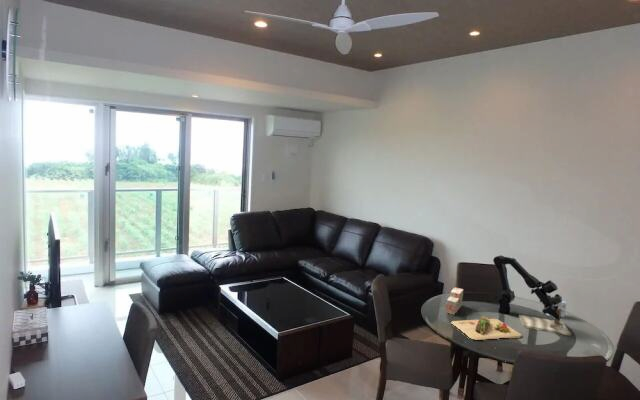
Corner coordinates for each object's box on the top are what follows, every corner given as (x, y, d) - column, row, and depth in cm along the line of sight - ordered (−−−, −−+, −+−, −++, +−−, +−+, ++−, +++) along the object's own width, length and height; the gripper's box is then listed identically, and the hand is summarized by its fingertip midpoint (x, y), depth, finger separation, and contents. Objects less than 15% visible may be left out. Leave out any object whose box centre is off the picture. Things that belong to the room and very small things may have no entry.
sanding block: (549, 327, 244) (552, 309, 243) (552, 323, 250) (554, 306, 248) (560, 330, 240) (563, 313, 239) (562, 327, 246) (565, 310, 244)
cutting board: (496, 320, 254) (497, 310, 253) (522, 338, 232) (524, 326, 231) (449, 323, 245) (450, 312, 244) (472, 342, 223) (474, 330, 222)
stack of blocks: (454, 315, 257) (456, 297, 256) (445, 312, 261) (446, 295, 259) (461, 305, 275) (463, 289, 274) (452, 303, 279) (454, 286, 277)
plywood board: (523, 327, 245) (524, 325, 245) (518, 316, 262) (519, 314, 261) (570, 335, 238) (570, 333, 238) (562, 324, 254) (562, 322, 254)
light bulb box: (559, 313, 272) (562, 298, 270) (564, 317, 265) (567, 302, 264) (544, 312, 273) (546, 297, 271) (548, 316, 266) (550, 301, 265)
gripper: (551, 294, 238) (569, 317, 232) (557, 287, 251) (575, 309, 245) (535, 302, 244) (552, 325, 238) (542, 295, 258) (559, 316, 252)
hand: (560, 318), depth 243 cm, fingers closed on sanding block, 4 cm apart
